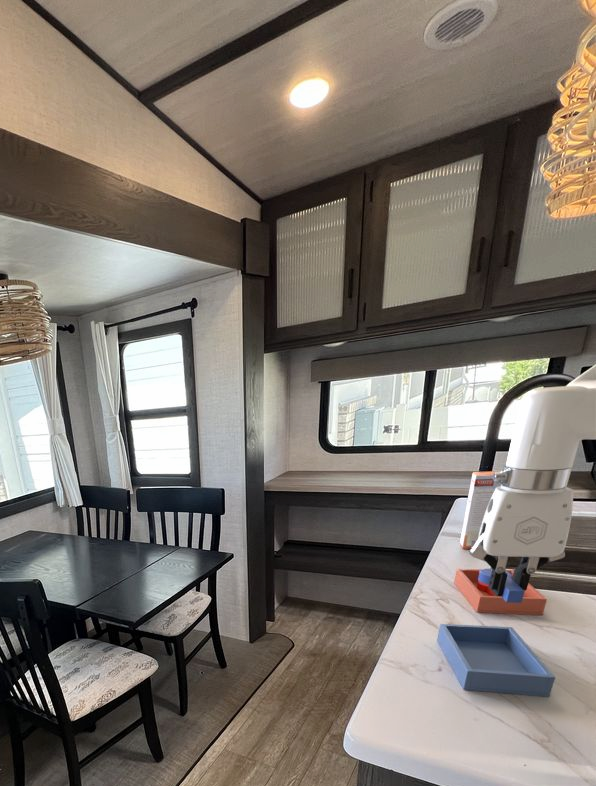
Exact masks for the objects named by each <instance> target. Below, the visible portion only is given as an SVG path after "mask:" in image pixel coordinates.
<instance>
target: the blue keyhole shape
mask: <svg viewBox="0 0 596 786" xmlns="http://www.w3.org/2000/svg"><path fill="white" fill-rule="evenodd" d="M491 572H492V568H482V570H480V573H479V577H478V580H479V581H480V582H482V583H484V584H488V585H489V581H490V576H491ZM505 573H506V574H507V580H506V583H505V586H504V590H503V594H502V596H501V597H502V598H503V599H504V600H505V601H506V602H512V603H522V599H523V596H524V592H525V591H524V590H523V589H522V588H521V587H520V586H518V585H517V584H516V583H515V582H514V581H513V580H512V579H511V573H509V572H507V571H505Z"/></svg>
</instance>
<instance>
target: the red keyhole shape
mask: <svg viewBox="0 0 596 786" xmlns="http://www.w3.org/2000/svg"><path fill="white" fill-rule="evenodd" d="M477 589H478V590H480V591H483V592H487V593H488V595H489V596H496V595H495V594H494V593H493V592H492V591H491V589H490V588H489V585H488V584H484V583H482V582H480V581H478V584H477Z"/></svg>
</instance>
